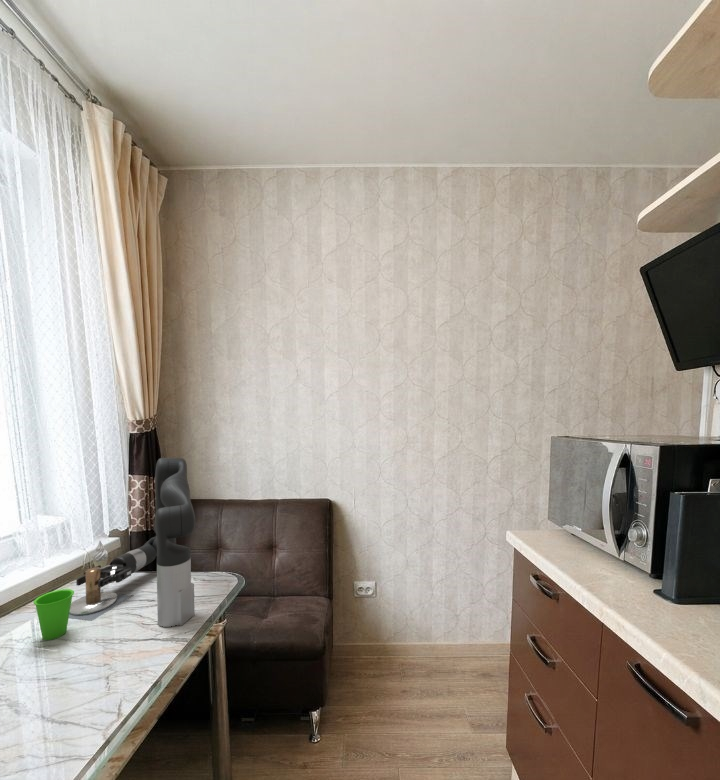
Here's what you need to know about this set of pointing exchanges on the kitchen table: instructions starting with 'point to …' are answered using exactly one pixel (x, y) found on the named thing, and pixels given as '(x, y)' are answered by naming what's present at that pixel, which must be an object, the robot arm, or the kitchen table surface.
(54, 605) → the cup
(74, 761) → the kitchen table surface
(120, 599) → the mat
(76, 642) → the kitchen table surface
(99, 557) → the ice cream cone
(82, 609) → the lid
